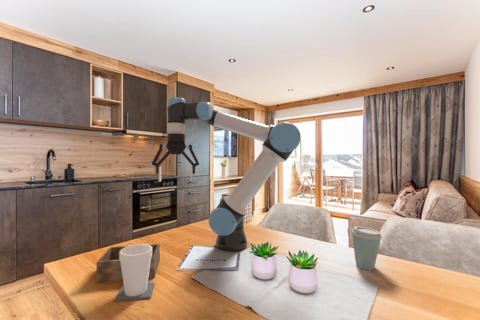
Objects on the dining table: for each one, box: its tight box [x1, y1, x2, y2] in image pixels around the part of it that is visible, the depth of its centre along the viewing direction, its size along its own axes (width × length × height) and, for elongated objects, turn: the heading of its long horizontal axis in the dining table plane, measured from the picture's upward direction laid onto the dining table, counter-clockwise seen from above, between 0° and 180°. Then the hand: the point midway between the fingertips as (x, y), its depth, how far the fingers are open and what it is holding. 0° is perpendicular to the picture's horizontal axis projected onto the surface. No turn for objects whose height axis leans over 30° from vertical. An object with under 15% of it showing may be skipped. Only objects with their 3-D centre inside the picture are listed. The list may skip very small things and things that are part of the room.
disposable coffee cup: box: [351, 226, 382, 271], centre depth 94 cm, size 11×11×15 cm
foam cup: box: [119, 243, 152, 296], centre depth 75 cm, size 10×9×13 cm
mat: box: [114, 282, 156, 303], centre depth 75 cm, size 10×8×1 cm
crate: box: [96, 243, 161, 284], centre depth 89 cm, size 19×14×7 cm
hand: (175, 181), depth 105 cm, fingers open, 13 cm apart
